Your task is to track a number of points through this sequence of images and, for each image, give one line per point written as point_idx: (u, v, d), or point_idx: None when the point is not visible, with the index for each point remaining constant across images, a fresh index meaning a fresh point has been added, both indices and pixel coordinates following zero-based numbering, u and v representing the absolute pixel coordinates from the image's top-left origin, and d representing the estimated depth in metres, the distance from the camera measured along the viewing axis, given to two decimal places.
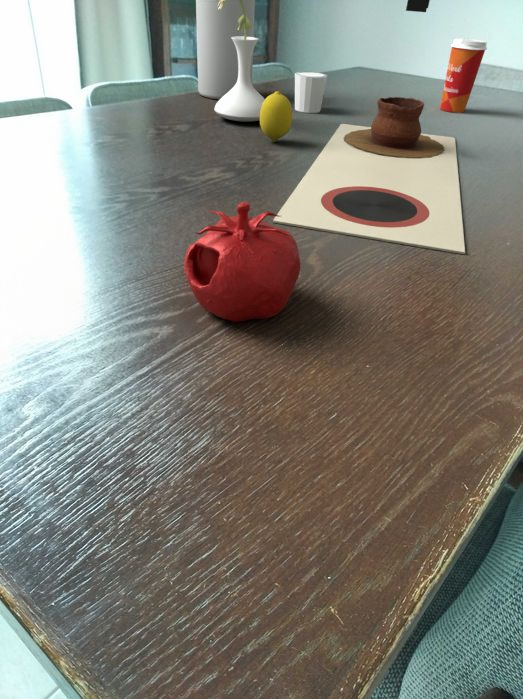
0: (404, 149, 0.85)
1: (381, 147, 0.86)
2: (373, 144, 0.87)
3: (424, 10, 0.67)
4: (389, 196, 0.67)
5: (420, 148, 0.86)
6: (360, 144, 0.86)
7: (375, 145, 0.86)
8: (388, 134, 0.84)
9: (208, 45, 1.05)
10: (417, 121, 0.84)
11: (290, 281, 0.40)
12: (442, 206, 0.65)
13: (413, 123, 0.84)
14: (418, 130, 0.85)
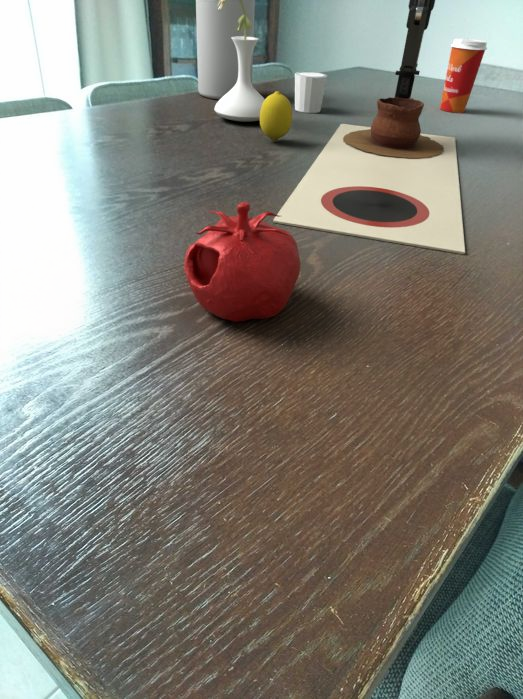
0: (404, 150, 0.85)
1: (381, 148, 0.85)
2: (372, 144, 0.87)
3: None
4: (389, 196, 0.67)
5: (420, 148, 0.86)
6: (359, 145, 0.86)
7: (374, 146, 0.86)
8: (388, 134, 0.84)
9: (208, 45, 1.05)
10: (417, 121, 0.84)
11: (290, 281, 0.40)
12: (442, 206, 0.65)
13: (412, 123, 0.83)
14: (418, 130, 0.84)
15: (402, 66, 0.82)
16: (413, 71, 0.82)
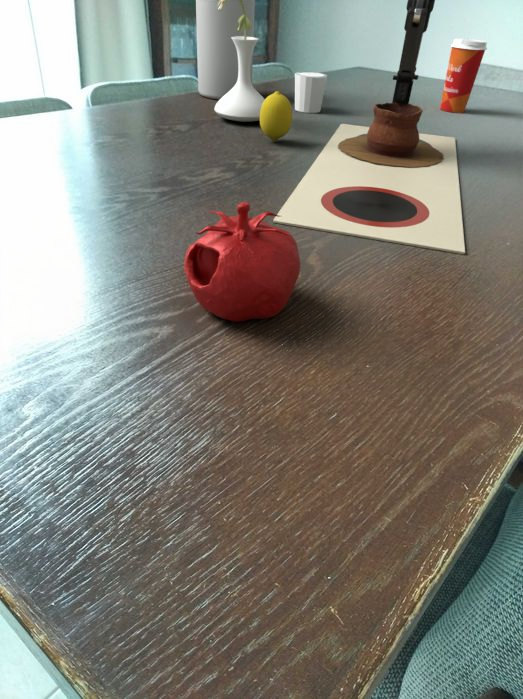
0: (401, 158, 0.81)
1: (377, 155, 0.81)
2: (368, 152, 0.83)
3: None
4: (389, 196, 0.67)
5: (418, 156, 0.82)
6: (355, 152, 0.82)
7: (371, 153, 0.82)
8: (384, 142, 0.80)
9: (208, 45, 1.05)
10: (415, 128, 0.80)
11: (290, 281, 0.40)
12: (442, 206, 0.65)
13: (410, 130, 0.79)
14: (416, 138, 0.81)
15: (400, 71, 0.78)
16: (411, 76, 0.78)
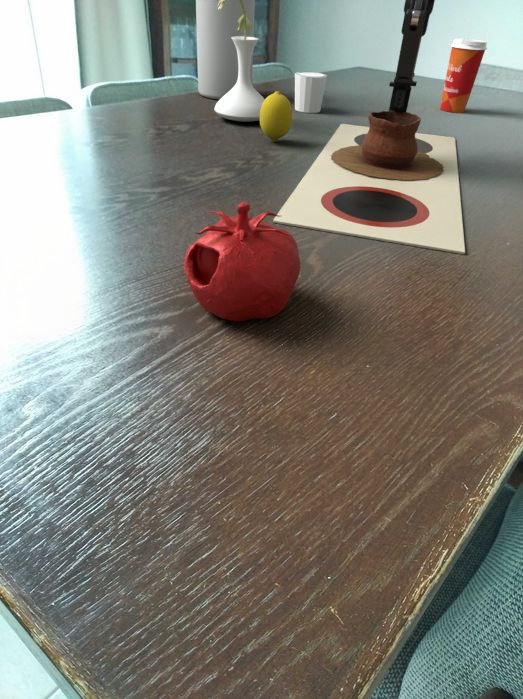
0: (398, 170, 0.76)
1: (372, 167, 0.76)
2: (363, 163, 0.77)
3: None
4: (389, 196, 0.67)
5: (416, 168, 0.77)
6: (349, 163, 0.77)
7: (365, 165, 0.77)
8: (380, 153, 0.75)
9: (208, 45, 1.05)
10: (413, 138, 0.75)
11: (290, 281, 0.40)
12: (442, 206, 0.65)
13: (408, 140, 0.74)
14: (414, 149, 0.75)
15: (397, 77, 0.73)
16: (409, 83, 0.73)
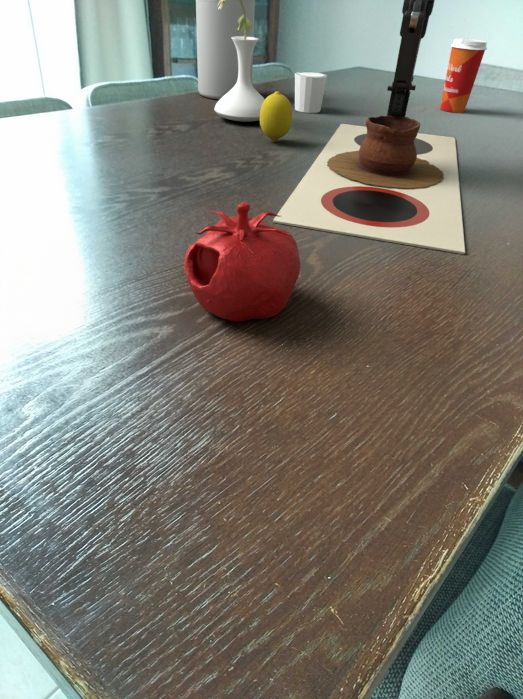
0: (396, 177, 0.73)
1: (369, 174, 0.73)
2: (360, 170, 0.75)
3: None
4: (389, 196, 0.67)
5: (415, 176, 0.74)
6: (345, 170, 0.74)
7: (363, 172, 0.74)
8: (378, 159, 0.72)
9: (208, 45, 1.05)
10: (412, 145, 0.72)
11: (290, 281, 0.40)
12: (442, 206, 0.65)
13: (406, 147, 0.71)
14: (413, 155, 0.72)
15: (395, 81, 0.70)
16: (408, 87, 0.70)
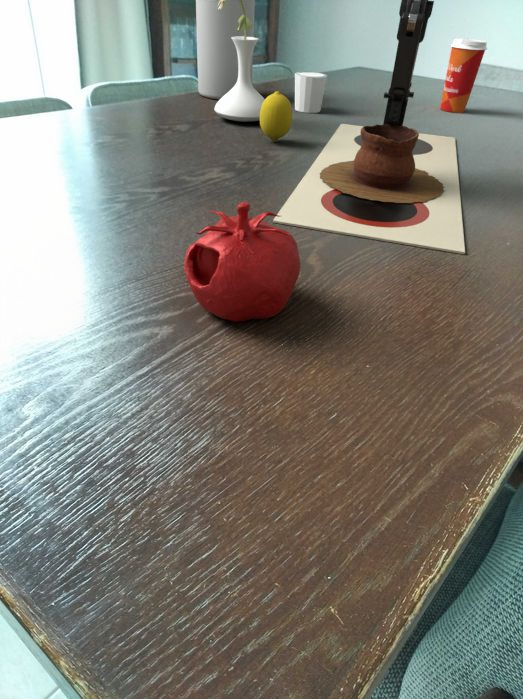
0: (393, 190, 0.68)
1: (365, 187, 0.69)
2: (355, 183, 0.70)
3: None
4: None
5: (414, 188, 0.69)
6: (339, 183, 0.70)
7: (357, 184, 0.70)
8: (373, 172, 0.67)
9: (208, 45, 1.05)
10: (410, 156, 0.67)
11: (290, 281, 0.40)
12: (442, 206, 0.65)
13: (404, 158, 0.67)
14: (411, 167, 0.68)
15: (392, 88, 0.65)
16: (405, 94, 0.65)
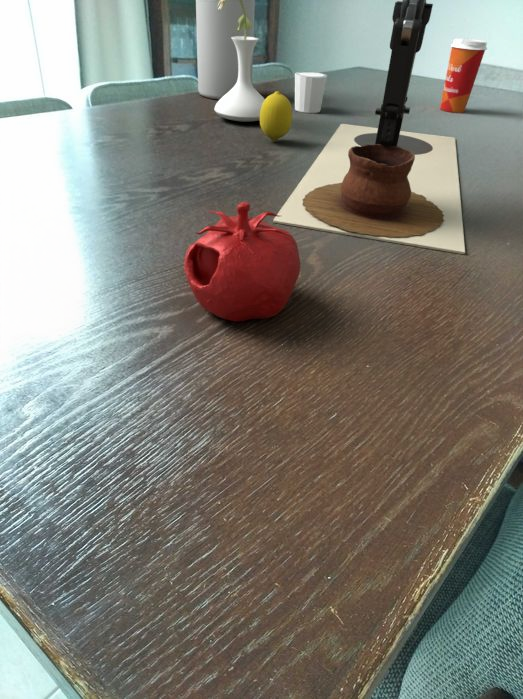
0: (386, 220, 0.60)
1: (353, 217, 0.60)
2: (343, 211, 0.61)
3: None
4: None
5: (409, 218, 0.61)
6: (324, 211, 0.61)
7: (345, 213, 0.61)
8: (363, 199, 0.59)
9: (208, 45, 1.05)
10: (405, 181, 0.59)
11: (290, 281, 0.40)
12: (442, 206, 0.65)
13: (398, 184, 0.58)
14: (406, 194, 0.59)
15: (384, 104, 0.57)
16: (400, 111, 0.57)
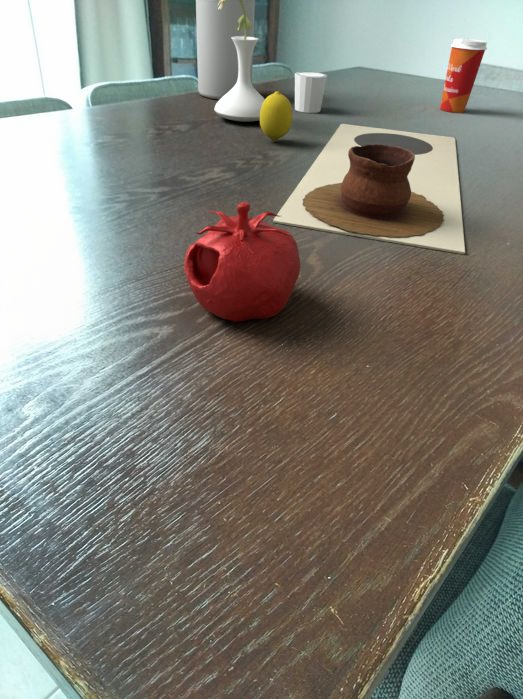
0: (386, 220, 0.60)
1: (353, 217, 0.60)
2: (343, 211, 0.61)
3: None
4: None
5: (409, 218, 0.61)
6: (324, 211, 0.61)
7: (345, 213, 0.61)
8: (363, 199, 0.59)
9: (208, 45, 1.05)
10: (405, 181, 0.59)
11: (290, 281, 0.40)
12: (442, 206, 0.65)
13: (398, 184, 0.58)
14: (406, 194, 0.59)
15: None
16: None
